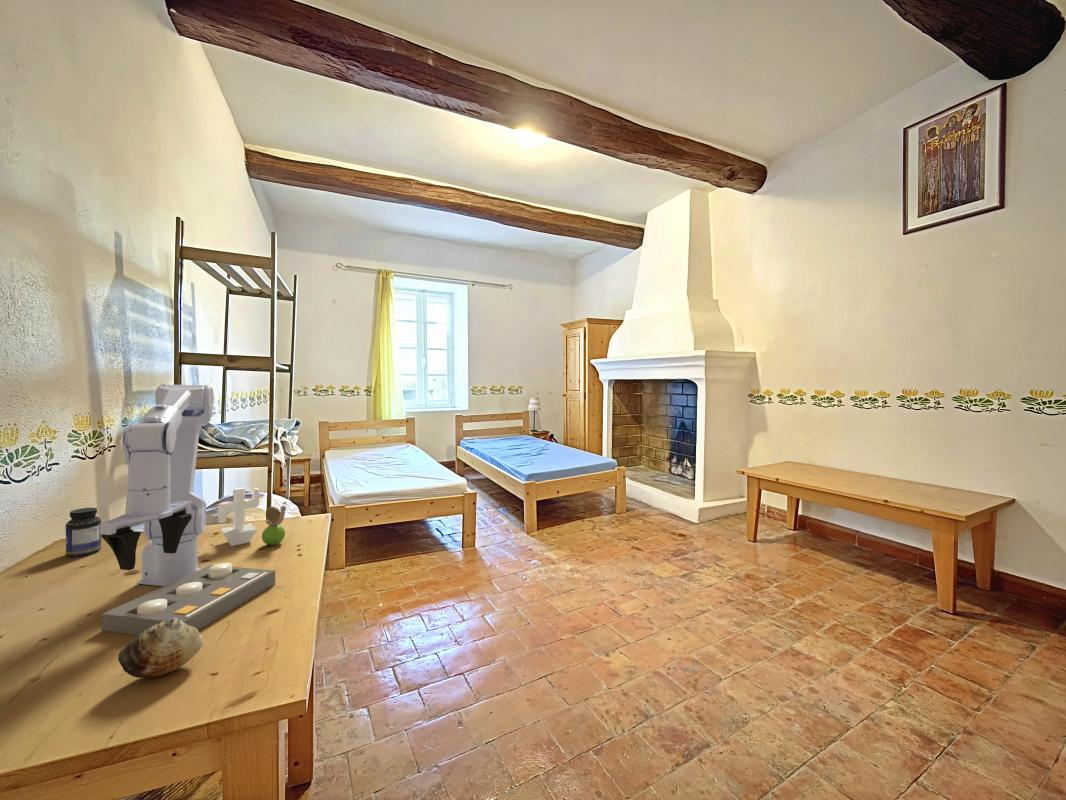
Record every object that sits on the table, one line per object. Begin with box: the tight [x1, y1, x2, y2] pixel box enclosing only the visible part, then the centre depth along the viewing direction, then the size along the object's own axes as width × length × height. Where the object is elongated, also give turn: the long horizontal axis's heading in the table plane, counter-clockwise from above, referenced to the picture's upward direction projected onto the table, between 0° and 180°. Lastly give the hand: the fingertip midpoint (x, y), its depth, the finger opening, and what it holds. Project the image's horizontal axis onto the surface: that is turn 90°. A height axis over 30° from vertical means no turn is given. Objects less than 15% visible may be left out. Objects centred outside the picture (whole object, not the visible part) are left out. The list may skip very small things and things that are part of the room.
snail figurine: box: [261, 501, 287, 546], centre depth 114 cm, size 5×6×12 cm
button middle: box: [176, 582, 202, 596], centre depth 82 cm, size 4×4×3 cm
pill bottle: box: [65, 507, 102, 558], centre depth 106 cm, size 6×6×11 cm
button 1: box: [137, 599, 167, 615], centre depth 75 cm, size 4×4×3 cm
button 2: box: [209, 562, 233, 580], centre depth 89 cm, size 4×4×3 cm
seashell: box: [117, 617, 204, 679], centre depth 62 cm, size 10×6×8 cm, turn 130°
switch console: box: [101, 564, 276, 636], centre depth 82 cm, size 16×21×3 cm
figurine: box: [217, 487, 261, 547], centre depth 115 cm, size 7×9×15 cm
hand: (149, 560), depth 78 cm, fingers open, 7 cm apart
